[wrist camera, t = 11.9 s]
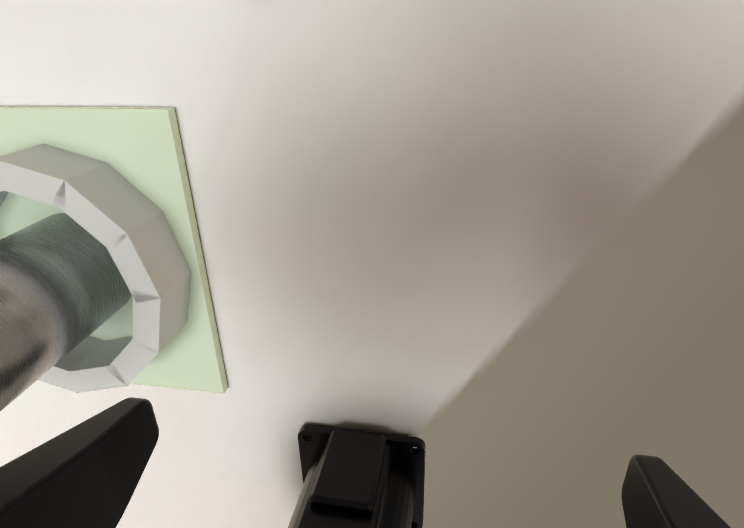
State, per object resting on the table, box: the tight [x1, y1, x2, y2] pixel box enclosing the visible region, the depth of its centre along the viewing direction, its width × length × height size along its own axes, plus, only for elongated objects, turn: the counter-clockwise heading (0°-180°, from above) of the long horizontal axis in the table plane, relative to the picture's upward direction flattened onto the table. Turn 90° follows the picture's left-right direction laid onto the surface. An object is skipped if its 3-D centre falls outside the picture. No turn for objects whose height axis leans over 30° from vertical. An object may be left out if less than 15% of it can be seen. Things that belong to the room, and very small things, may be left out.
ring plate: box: [0, 106, 228, 394], centre depth 23 cm, size 14×12×3 cm
